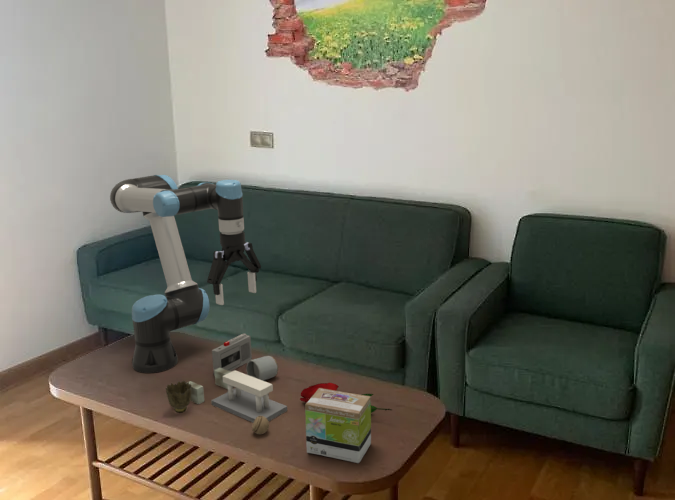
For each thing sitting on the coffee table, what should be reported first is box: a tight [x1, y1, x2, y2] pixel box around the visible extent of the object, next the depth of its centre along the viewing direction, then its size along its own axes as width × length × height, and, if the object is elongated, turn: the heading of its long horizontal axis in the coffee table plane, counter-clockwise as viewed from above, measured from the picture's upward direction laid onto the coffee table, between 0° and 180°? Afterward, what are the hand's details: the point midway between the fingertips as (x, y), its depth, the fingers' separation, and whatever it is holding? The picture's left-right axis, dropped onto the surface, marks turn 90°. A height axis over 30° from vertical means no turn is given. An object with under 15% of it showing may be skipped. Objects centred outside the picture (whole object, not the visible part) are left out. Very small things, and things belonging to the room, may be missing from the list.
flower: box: [299, 382, 393, 414], centre depth 202 cm, size 9×10×30 cm
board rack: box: [186, 368, 235, 405], centre depth 217 cm, size 6×14×5 cm, turn 140°
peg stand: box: [210, 384, 288, 424], centre depth 206 cm, size 21×11×7 cm, turn 51°
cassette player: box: [211, 333, 253, 376], centre depth 234 cm, size 16×3×10 cm, turn 144°
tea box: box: [304, 388, 372, 464], centre depth 182 cm, size 15×10×15 cm
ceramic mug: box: [246, 355, 279, 382], centre depth 226 cm, size 11×8×8 cm
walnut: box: [251, 416, 270, 435], centre depth 193 cm, size 5×5×5 cm
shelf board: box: [223, 369, 274, 397], centre depth 205 cm, size 16×5×2 cm, turn 51°
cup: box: [165, 380, 192, 414], centre depth 206 cm, size 8×7×8 cm
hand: (236, 298), depth 216 cm, fingers open, 13 cm apart
